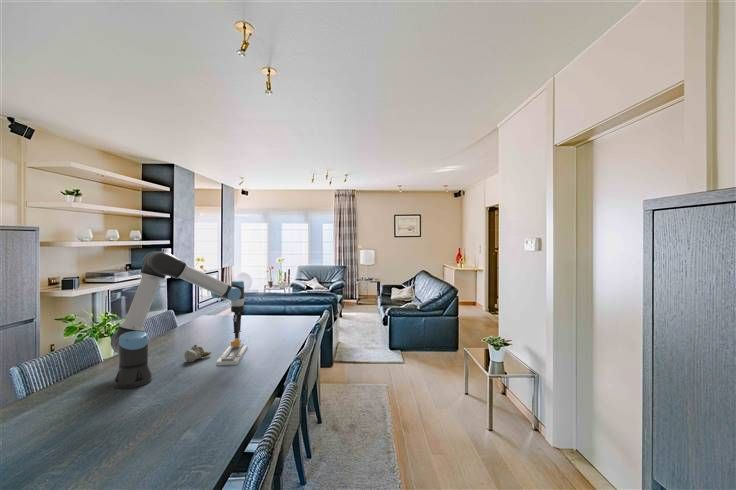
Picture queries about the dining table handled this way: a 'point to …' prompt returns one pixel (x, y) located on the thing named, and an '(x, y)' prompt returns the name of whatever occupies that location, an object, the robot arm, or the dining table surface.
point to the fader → (235, 344)
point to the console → (232, 355)
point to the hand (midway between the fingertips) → (237, 342)
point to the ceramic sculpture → (195, 353)
